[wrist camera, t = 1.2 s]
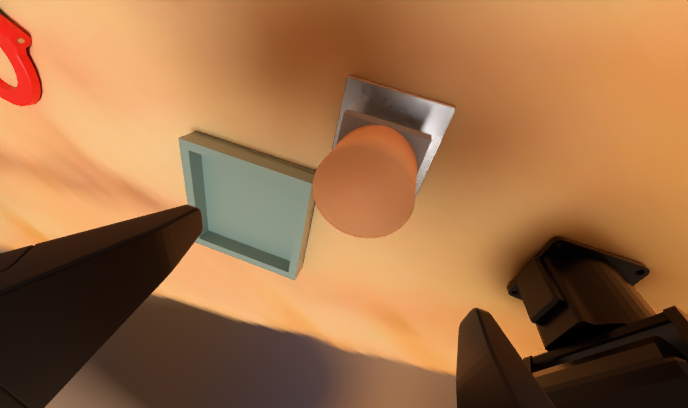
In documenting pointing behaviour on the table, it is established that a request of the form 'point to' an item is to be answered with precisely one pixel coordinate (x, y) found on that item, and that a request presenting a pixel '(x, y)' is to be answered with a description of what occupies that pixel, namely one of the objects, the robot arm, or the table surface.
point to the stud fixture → (398, 113)
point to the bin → (249, 202)
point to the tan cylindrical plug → (370, 176)
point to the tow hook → (18, 65)
